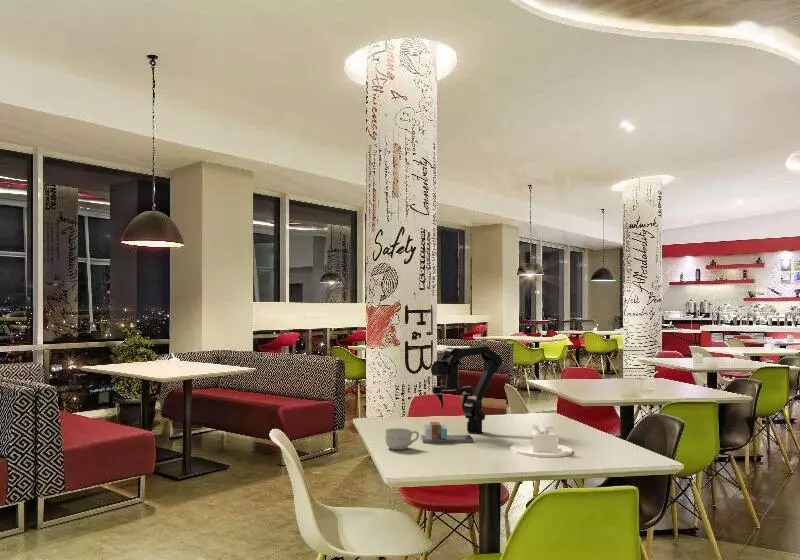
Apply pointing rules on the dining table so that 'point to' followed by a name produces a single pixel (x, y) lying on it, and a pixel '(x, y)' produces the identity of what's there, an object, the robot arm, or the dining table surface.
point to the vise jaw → (443, 432)
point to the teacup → (399, 438)
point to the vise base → (450, 439)
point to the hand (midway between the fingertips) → (452, 408)
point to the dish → (542, 445)
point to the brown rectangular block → (436, 430)
